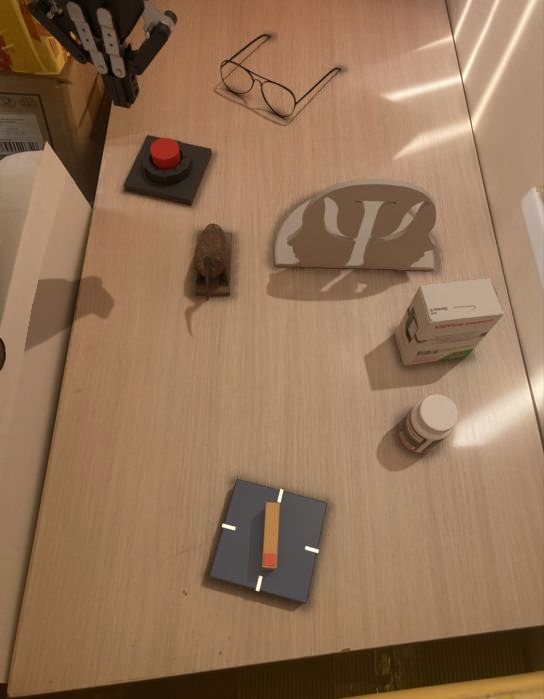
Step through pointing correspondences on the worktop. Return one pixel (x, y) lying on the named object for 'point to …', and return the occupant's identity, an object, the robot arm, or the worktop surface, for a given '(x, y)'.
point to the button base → (169, 173)
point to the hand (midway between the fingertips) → (125, 101)
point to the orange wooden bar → (270, 536)
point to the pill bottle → (428, 423)
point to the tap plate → (247, 541)
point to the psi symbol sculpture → (360, 228)
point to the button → (165, 153)
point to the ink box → (447, 320)
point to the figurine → (213, 261)
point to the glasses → (268, 79)
